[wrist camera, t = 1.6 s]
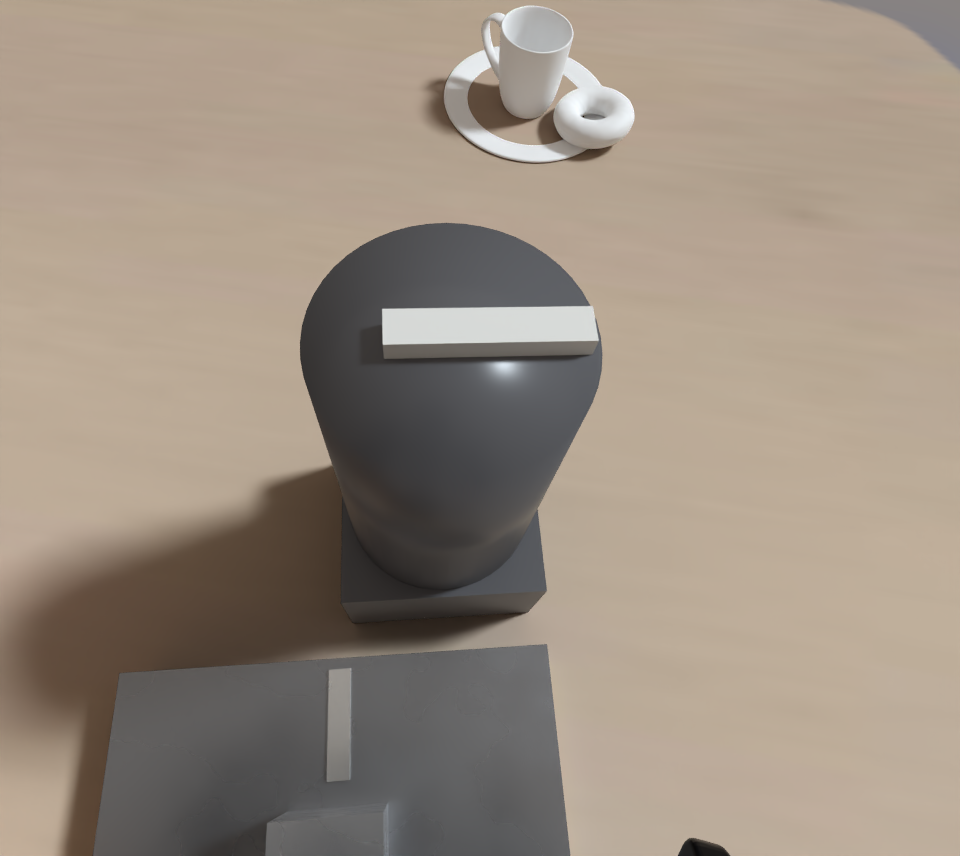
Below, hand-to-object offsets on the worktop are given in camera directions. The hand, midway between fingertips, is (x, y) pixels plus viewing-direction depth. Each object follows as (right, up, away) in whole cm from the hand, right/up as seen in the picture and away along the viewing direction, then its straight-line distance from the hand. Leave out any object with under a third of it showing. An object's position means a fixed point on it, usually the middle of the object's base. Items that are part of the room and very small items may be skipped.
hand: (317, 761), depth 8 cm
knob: (+1, 0, +14) cm, 14 cm away
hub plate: (-2, -8, +10) cm, 13 cm away
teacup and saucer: (+4, +17, +23) cm, 29 cm away
